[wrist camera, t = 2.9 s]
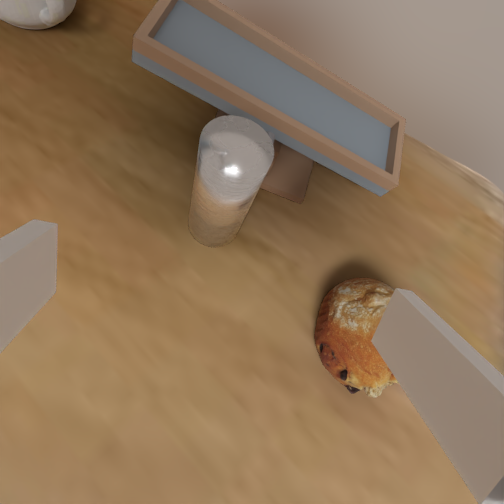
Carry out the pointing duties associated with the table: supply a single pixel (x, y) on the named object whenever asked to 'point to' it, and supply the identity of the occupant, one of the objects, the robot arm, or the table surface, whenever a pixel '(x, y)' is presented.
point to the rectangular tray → (272, 89)
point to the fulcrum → (286, 171)
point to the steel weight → (227, 177)
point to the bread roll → (354, 334)
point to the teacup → (35, 12)
